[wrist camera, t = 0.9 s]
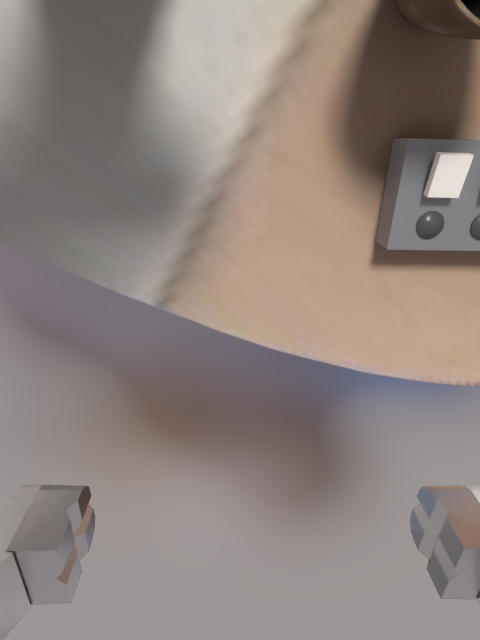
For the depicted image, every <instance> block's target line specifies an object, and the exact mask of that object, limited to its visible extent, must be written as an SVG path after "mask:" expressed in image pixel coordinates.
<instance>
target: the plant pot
mask: <svg viewBox="0 0 480 640" xmlns="http://www.w3.org/2000/svg"><path fill="white" fill-rule="evenodd" d="M396 3H397V6H398V8H399V10H400V12H401V13H402V15H403V16H404V17H405V18H406V19H407V20H408V21H409V22H411V23H412V24H414V25H415V26H417V27H419V28H421V29H423V30H426V31H428V32H431V33H434V34H438V35H442V36H447V37H453V38H461V39H480V0H396Z"/></svg>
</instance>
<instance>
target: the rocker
mask: <svg viewBox="0 0 480 640" xmlns="http://www.w3.org/2000/svg"><path fill="white" fill-rule="evenodd" d="M473 157H474V155H472V154H470V153H447V152H436V155H435V159H434V162H433V165H432V168H431V172H430V175H429V178H428V181H427V184H426V188H425V191H424V194H423V195H425V196H426V197H436V198H459V195H460V192H461V190H462V187H463V184H464V181H465V179H466V176H467V173H468V171H469V168H470V165H471V162H472V160H473Z"/></svg>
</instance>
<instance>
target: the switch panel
mask: <svg viewBox="0 0 480 640" xmlns="http://www.w3.org/2000/svg"><path fill="white" fill-rule="evenodd" d="M436 152H447V153H470V154H472V155H474V157H473V160H472V162H471V165H470V168H469V171H468V173H467V176H466V179H465V181H464V184H463V187H462V190H461V192H460V195H459V198H436V197H426V196H425V195H423V194H424V191H425V188H426V184H427V181H428V178H429V175H430V172H431V168H432V165H433V162H434V159H435V155H436ZM375 242H377V243H378V244H379V245H381V246H382V247H384V248H385V249H387V250H444V251H480V140H453V139H416V138H393V144H392V150H391V155H390V161H389V166H388V172H387V177H386V183H385V188H384V194H383V200H382V205H381V211H380V216H379V222H378V227H377V233H376V238H375Z"/></svg>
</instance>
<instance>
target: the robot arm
mask: <svg viewBox="0 0 480 640" xmlns="http://www.w3.org/2000/svg"><path fill="white" fill-rule="evenodd" d="M417 497H418V499H419V501H420V504H418V505H417V506H416V507H414V508H413V510H412V514H411V517H410V525H411V533H412V536H413V540H414V542H415V544H416V546H417V549H418V550H419V551H420V552H421V553H422V554H423V555H424V556H426V557H427V558H428V559H429V561H428V566H427V570H428V572H429V575H430V577H431V579H432V581H433V583H434V585H435V587H436V590H437V592H438V594H439V596H440V598H441V599H466V600H478V603H479V604H480V486H423V487H422V488H421V489H420V490H419V493H418V495H417ZM90 498H91V493H90V489H89V486H71V485H68V486H67V485H24V484H23V485H21V486H20V487H19V488H18V489H17V490H16V491H15V493H14V495H13V496H12V498H11V499H10V501H9V503H8V504H7V506H6V508H5V509H4V511H3V513H2V514H1V516H0V640H3V639H4V638H5V636H7V634H8V633H9V632H10V631H11V630H12V629H13V628H14V627H15V625H16V624H17V623H18V622H19V621H20V620H21V619H22V618H23V616H24V615H25V614H26V613H27V612H28V611H29V610H30V609H31V605H39V604H40V605H41V604H65V603H72V600H73V597H74V594H75V590H76V588H77V585H78V582H79V579H80V576H81V573H82V569H81V565H80V560H81V559H82V558H83V557H84V556H85V555H86V554H87V553H88V552H89V549H90V546H91V542H92V539H93V533H94V528H95V514H94V509H93V508H92V507H91V506H90V505H88V504H89V501H90Z"/></svg>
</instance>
